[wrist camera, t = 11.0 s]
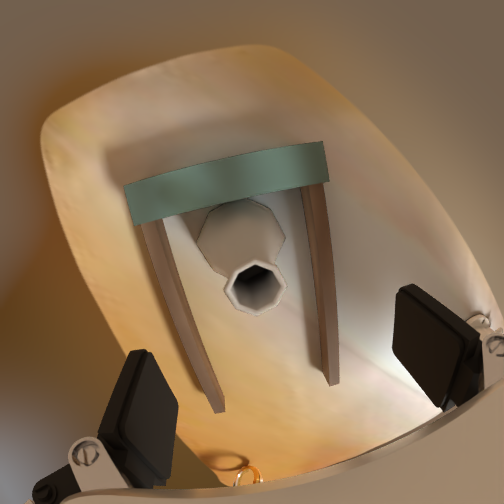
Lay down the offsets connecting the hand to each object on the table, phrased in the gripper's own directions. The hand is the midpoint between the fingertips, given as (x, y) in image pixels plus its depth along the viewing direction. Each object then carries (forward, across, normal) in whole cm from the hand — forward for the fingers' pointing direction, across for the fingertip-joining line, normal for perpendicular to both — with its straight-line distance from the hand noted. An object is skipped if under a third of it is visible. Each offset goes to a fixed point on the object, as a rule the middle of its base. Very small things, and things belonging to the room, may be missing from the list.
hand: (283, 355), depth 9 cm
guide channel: (+15, +1, +5) cm, 16 cm away
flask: (+16, 0, 0) cm, 16 cm away
